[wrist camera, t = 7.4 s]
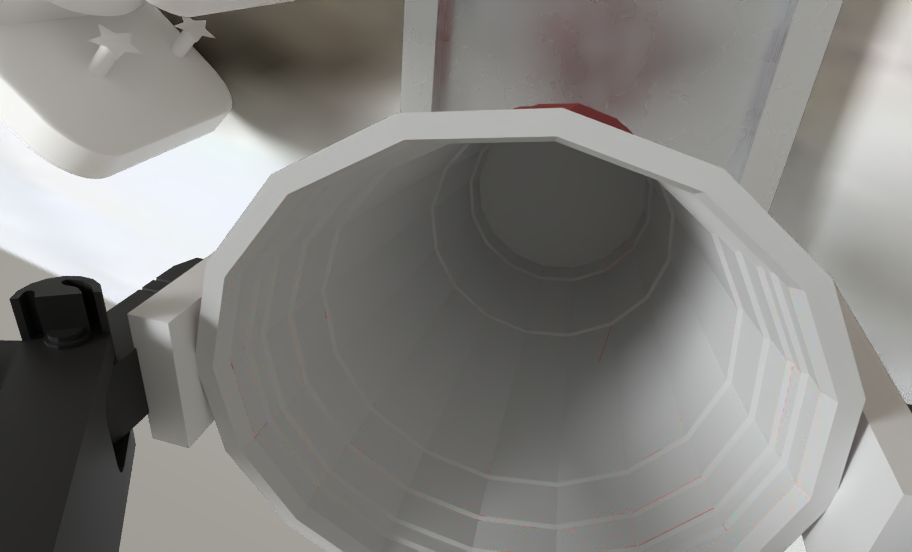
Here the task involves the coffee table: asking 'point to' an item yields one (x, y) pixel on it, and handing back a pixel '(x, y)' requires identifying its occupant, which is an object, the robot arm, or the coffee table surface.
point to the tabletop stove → (632, 68)
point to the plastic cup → (525, 345)
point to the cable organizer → (108, 79)
